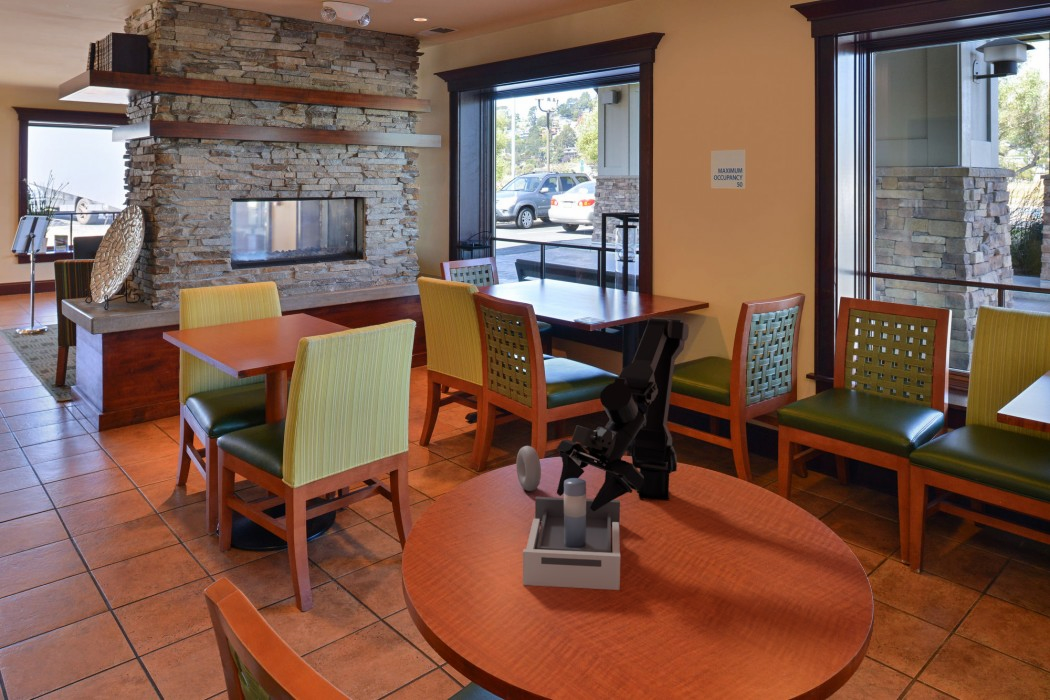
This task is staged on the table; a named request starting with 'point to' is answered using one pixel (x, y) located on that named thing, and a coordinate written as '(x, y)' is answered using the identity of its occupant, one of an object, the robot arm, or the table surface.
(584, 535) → the canister
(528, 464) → the donut
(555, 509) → the tray
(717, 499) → the table surface
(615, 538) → the dock
